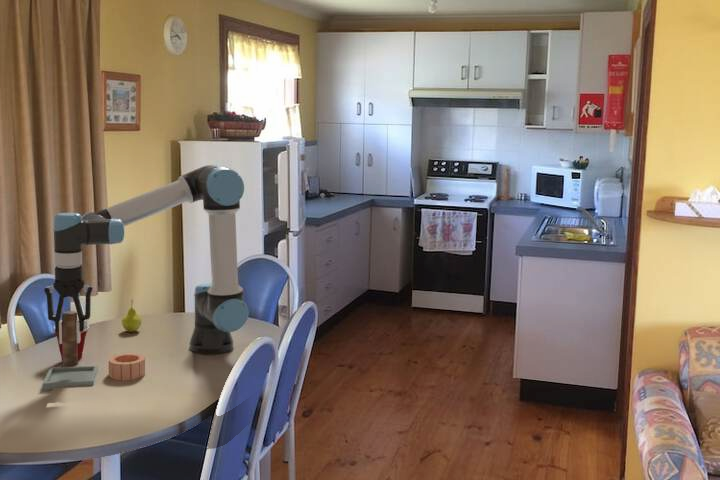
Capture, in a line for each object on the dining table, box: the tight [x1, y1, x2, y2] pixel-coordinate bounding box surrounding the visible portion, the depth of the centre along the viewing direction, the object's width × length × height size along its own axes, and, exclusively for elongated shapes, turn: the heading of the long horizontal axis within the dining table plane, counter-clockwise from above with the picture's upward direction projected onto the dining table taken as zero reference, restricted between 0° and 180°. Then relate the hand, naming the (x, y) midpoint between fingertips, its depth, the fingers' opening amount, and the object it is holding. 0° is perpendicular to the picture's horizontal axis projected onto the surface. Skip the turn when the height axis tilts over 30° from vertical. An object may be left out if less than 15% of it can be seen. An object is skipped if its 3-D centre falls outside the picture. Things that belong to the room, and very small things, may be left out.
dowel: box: [61, 310, 79, 367], centre depth 218 cm, size 4×4×16 cm
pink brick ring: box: [107, 352, 146, 381], centre depth 225 cm, size 11×11×6 cm
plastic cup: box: [53, 323, 90, 362], centre depth 237 cm, size 11×11×12 cm
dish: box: [42, 364, 99, 392], centre depth 220 cm, size 14×14×2 cm
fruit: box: [121, 299, 142, 333], centre depth 272 cm, size 7×7×12 cm
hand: (70, 342), depth 218 cm, fingers closed on dowel, 4 cm apart
